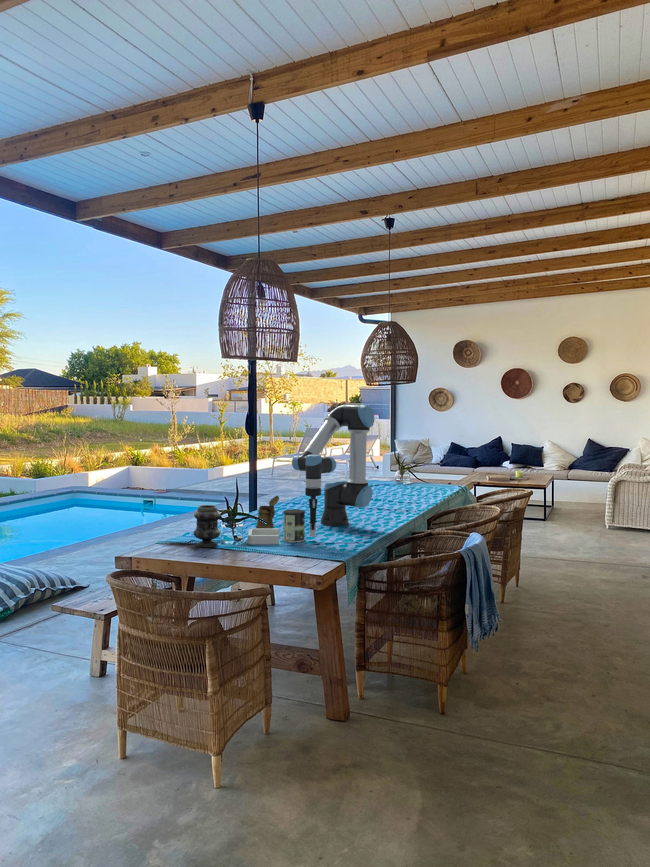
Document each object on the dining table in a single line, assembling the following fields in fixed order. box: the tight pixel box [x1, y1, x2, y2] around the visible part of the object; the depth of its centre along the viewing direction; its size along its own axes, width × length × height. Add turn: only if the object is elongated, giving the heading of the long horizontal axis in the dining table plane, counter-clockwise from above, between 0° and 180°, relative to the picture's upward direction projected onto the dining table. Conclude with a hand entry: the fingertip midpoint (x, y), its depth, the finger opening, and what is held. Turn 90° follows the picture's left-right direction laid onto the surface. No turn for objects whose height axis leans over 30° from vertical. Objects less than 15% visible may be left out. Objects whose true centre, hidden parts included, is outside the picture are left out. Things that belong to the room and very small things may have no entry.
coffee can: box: [282, 508, 306, 544], centre depth 295 cm, size 10×10×14 cm
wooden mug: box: [255, 495, 280, 529], centre depth 321 cm, size 9×14×18 cm, turn 50°
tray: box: [247, 527, 280, 545], centre depth 295 cm, size 14×16×4 cm
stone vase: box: [193, 504, 221, 548], centre depth 283 cm, size 12×12×18 cm
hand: (312, 536), depth 296 cm, fingers closed
